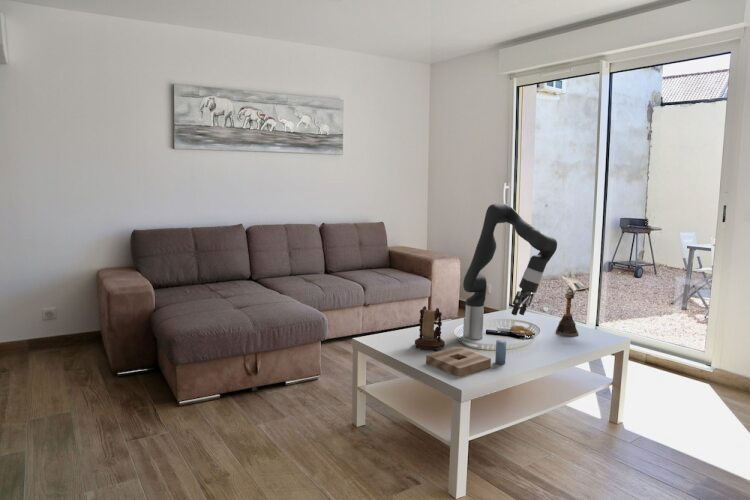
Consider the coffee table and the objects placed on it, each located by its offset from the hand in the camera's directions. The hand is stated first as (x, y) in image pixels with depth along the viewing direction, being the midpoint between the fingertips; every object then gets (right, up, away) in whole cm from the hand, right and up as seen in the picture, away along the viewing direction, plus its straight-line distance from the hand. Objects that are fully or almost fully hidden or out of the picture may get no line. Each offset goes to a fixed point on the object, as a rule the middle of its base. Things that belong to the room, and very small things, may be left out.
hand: (517, 314), depth 225 cm
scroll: (-35, -20, +30) cm, 50 cm away
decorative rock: (+16, -18, +53) cm, 58 cm away
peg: (-5, -23, +9) cm, 25 cm away
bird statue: (+44, -18, +55) cm, 72 cm away
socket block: (-25, -23, +5) cm, 34 cm away
